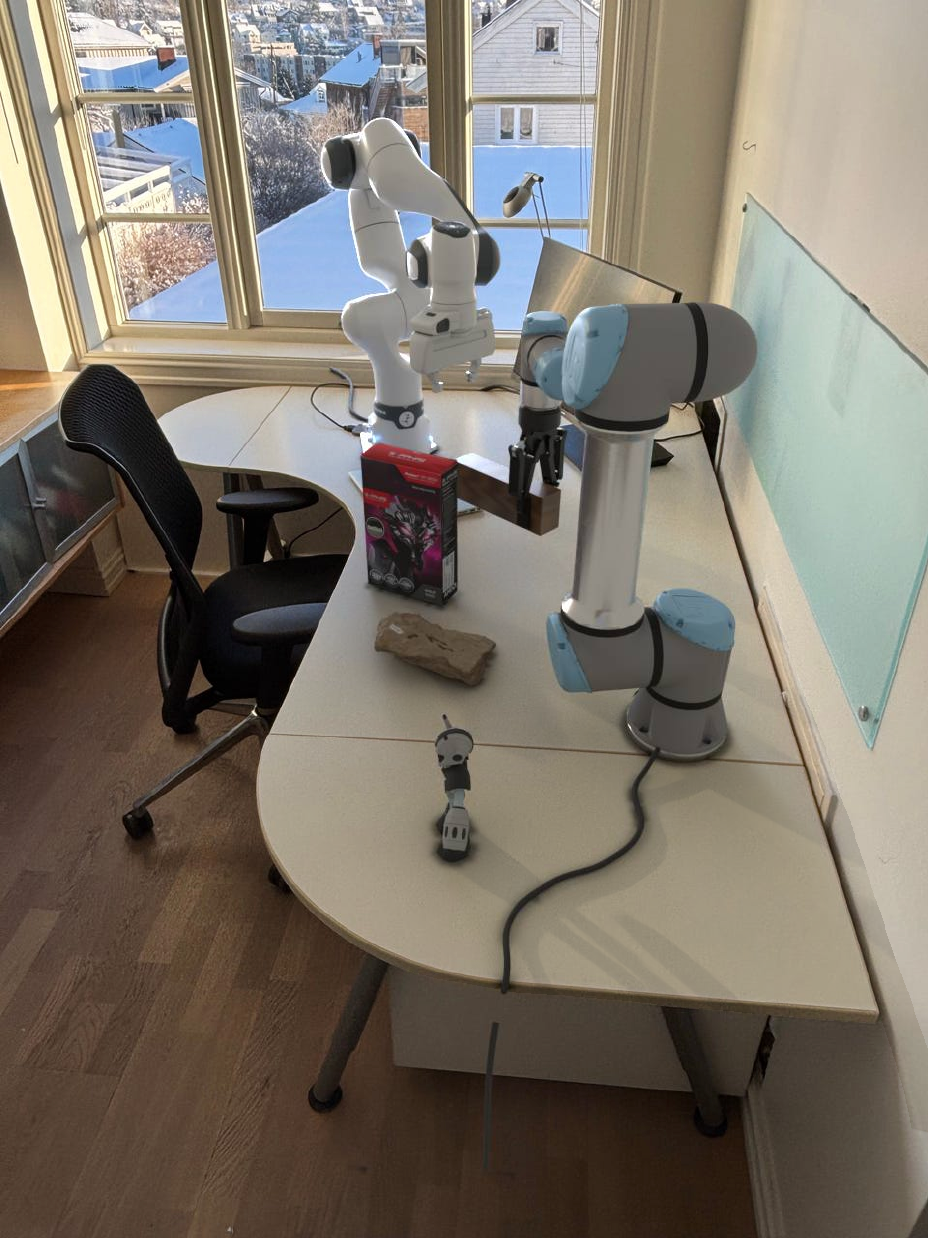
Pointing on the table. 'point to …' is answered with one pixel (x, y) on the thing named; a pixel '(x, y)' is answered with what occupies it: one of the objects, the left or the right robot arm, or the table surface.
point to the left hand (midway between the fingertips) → (454, 386)
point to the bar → (505, 493)
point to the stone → (434, 646)
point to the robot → (454, 790)
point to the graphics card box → (411, 521)
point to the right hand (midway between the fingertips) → (533, 521)
